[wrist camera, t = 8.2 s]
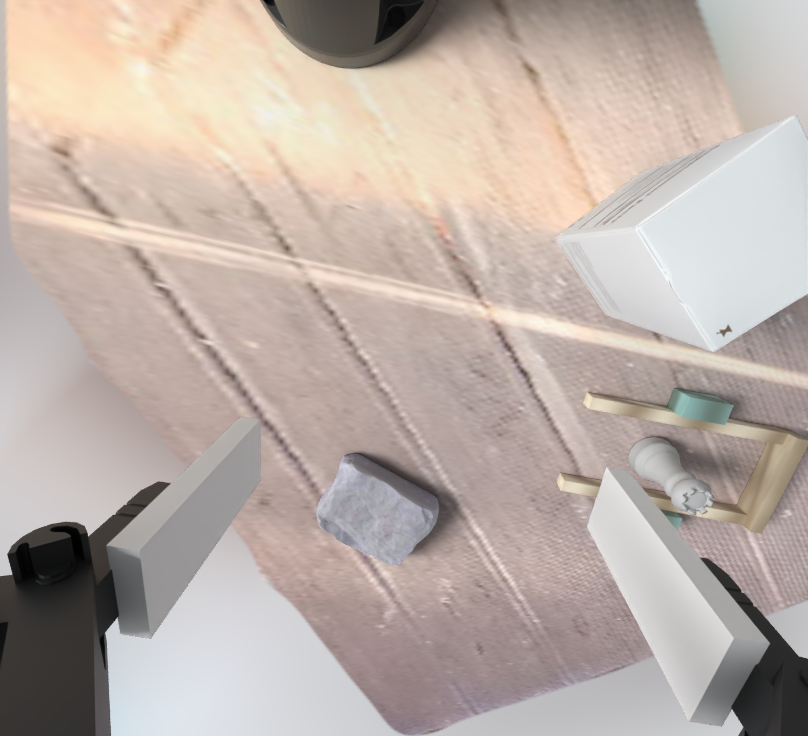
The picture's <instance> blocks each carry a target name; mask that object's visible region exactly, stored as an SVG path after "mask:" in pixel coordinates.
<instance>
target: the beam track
mask: <svg viewBox="0 0 808 736" xmlns="http://www.w3.org/2000/svg"><path fill="white" fill-rule="evenodd" d="M583 404H584V405H585V406H586V407H587V408H588V409H592V410H597V411H602V412H608V413H613V414H618V415H624V416H629V417H635V418H640V419H645V420H651V421H656V422H661V423H667V424H672V425H678V426H683V427H688V428H694V429H699V430H704V431H710V432H715V433H721V434H726V435H731V436H737V437H742V438H747V439H753V440H758V441H763V442H768V443H767V445H766V447H765V449H764V451H763V453H762V455H761V457H760V459H759V461H758V463H757V465H756V467H755V469H754V471H753V473H752V475H751V477H750V479H749V481H748V483H747V485H746V487H745V489H744V491H743V493H742V495H741V497H740V499H739V502H738V504H737V506H735V505H730V504H724V503H719V502H714V501H713V502H714V505H713V507H709V506H708V505H707V506H706V507H705V509H706V510H707V511H708V512H707V513H705V514H701V513H700V512H699V511H696V515H694V516H699V517H704V518H710V519H715V520H720V521H726V522H731V523H736V524H742V525H743V526H744V527H746V528H747V529H748V530H749V531H751V532H757V533H762V532H763V530H764V528H765V526H766V524H767V523H768V521H769V519H770V517H771V515H772V513H773V511H774V509H775V507H776V506H777V504H778V502H779V500H780V498H781V496H782V494H783V492H784V491H785V489H786V487H787V485H788V483H789V481H790V479H791V477H792V475H793V474H794V472H795V470H796V468H797V466H798V464H799V462H800V460H801V458H802V457H803V455H804V453H805V451H806V449H807V447H808V439H806V438H804V437H802V436H800V435H798V434H796V433H794V432H792V431H790V430H788V429H783V428H777V427H772V426H767V425H761V424H756V423H751V422H745V421H740V420H734V419H729V415H730V413H731V411H732V409H733V407H734V405H732V404H730V403H728V402H726V401H725V400H723V399H721V398H719V397H717V396H714V395H709V394H703V393H698V392H693V391H687V390H682V389H676V388H674V390H673V393H672V395H671V398H670V400H669V403H668V405H667V407H664V406H659V405H654V404H648V403H643V402H638V401H632V400H627V399H621V398H616V397H611V396H605V395H600V394H595V393H589V392H587V393H586V396H585V399H584V402H583ZM601 483H602V480H596V479H591V478H586V477H580V476H575V475H570V474H564V473H560V474H559V477H558V480H557V484H558V486H559V488H560V489H561V491H566V492H571V493H576V494H582V495H587V496H592V497H597V495H598V492H599V489H600V486H601ZM643 489H644V488H643ZM644 491H645V492H646V493H647V494H648V496H649V497H650V498H651V499H652V500H653V502H654V503H655V504H656V505H657V507H658V508H659V509H660V510H661V511H662V513H663V514H664V515H665V516H666V517H667V519H668V520H669V521H670V522H671V524H672V525H673V526H674V527H675V528H676V530H678V528H679V525H680V523H681V521H682V517H681V516H680V515H679V514H678V513H683V514H688V515H690V514H689V513H688V512H685V511H680V510H679V509H677V508H675V507H674V505H673V504H672V502H671V497H669V496H668V495H667V494H666V492H660V491H655V490H650V489H644ZM677 512H678V513H677Z"/></svg>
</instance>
